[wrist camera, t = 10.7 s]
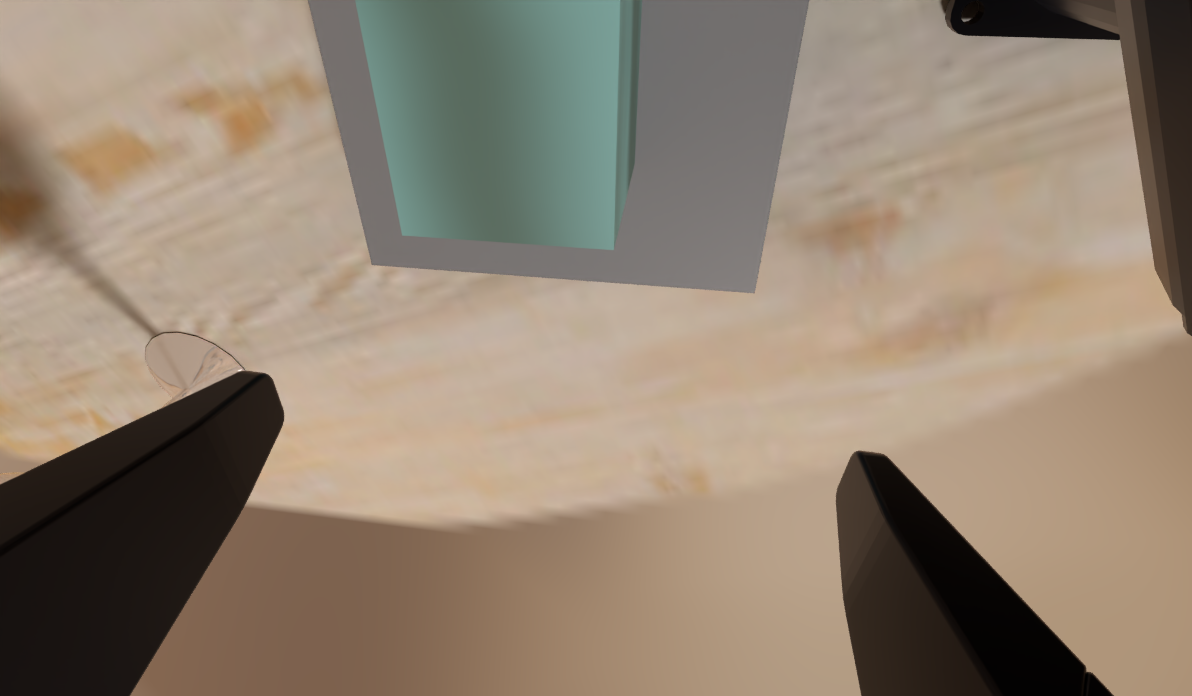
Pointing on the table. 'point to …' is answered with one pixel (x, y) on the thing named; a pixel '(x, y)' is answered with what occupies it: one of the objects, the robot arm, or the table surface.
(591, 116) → the teal block
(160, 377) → the wineglass
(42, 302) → the table surface
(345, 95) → the plinth
